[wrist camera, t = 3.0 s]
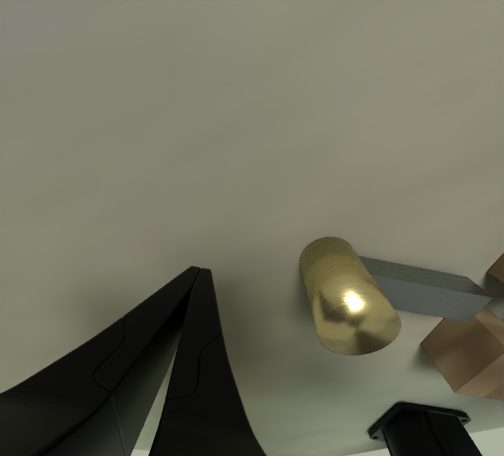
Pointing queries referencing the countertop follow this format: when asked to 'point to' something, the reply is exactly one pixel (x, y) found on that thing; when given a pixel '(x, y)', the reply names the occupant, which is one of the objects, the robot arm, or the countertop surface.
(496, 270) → the socket block
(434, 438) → the robot arm
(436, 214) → the countertop surface
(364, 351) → the key
